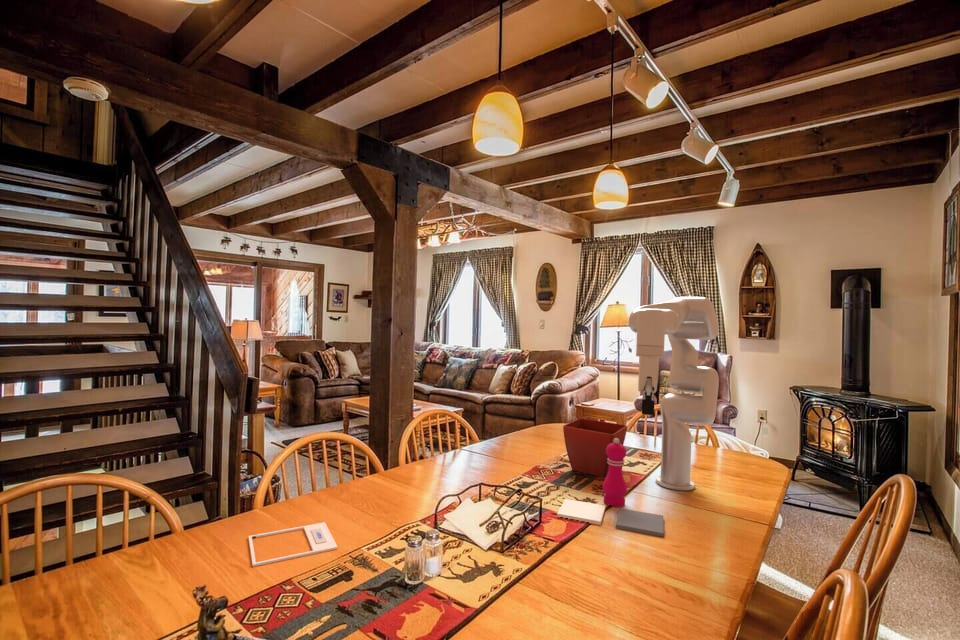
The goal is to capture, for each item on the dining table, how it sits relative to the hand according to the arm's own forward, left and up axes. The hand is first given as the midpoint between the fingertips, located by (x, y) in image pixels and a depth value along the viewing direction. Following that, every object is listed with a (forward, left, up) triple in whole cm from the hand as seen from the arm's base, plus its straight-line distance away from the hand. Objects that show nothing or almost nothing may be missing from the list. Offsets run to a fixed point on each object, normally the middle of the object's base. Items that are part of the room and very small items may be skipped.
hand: (647, 411), depth 133 cm
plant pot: (-37, -19, -31) cm, 52 cm away
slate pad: (+5, -1, -30) cm, 31 cm away
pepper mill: (-7, -9, -31) cm, 33 cm away
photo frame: (+54, -78, -31) cm, 100 cm away
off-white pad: (+5, -17, -30) cm, 35 cm away
